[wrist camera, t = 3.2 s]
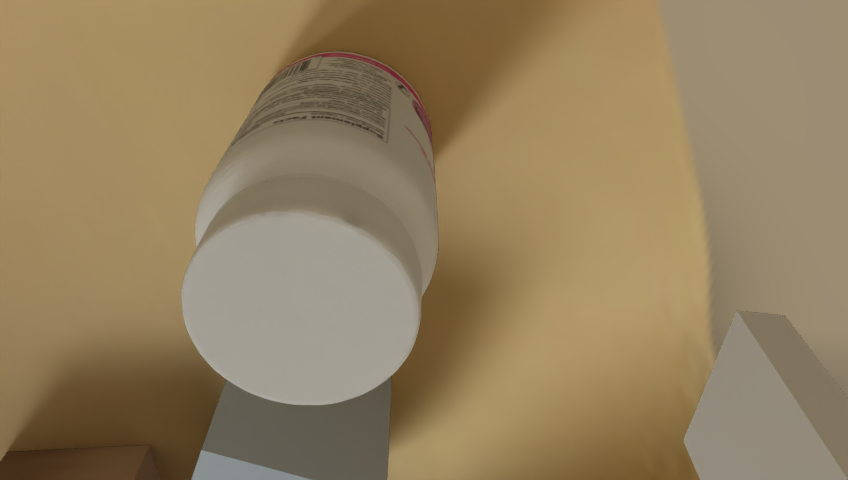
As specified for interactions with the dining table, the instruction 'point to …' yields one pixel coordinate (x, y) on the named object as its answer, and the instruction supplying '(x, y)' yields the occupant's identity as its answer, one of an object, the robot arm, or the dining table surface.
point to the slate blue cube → (297, 438)
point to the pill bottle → (317, 235)
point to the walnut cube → (81, 464)
